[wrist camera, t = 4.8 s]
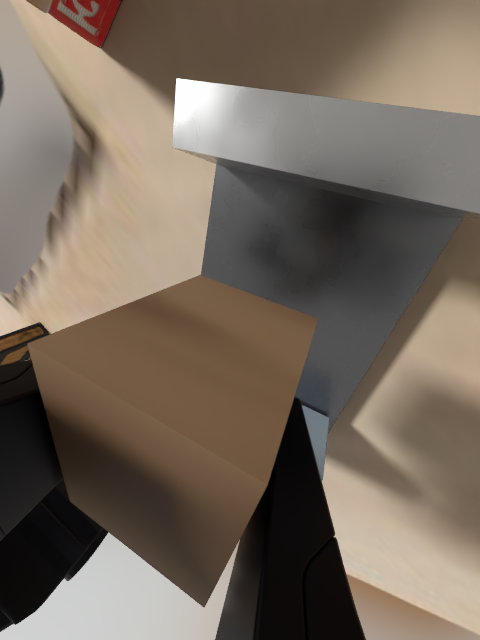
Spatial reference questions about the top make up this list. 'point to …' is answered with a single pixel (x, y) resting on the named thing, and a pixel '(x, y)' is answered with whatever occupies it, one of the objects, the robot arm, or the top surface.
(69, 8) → the stack of blocks
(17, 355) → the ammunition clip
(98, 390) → the walnut block
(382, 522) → the top surface
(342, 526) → the top surface
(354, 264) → the vise base
